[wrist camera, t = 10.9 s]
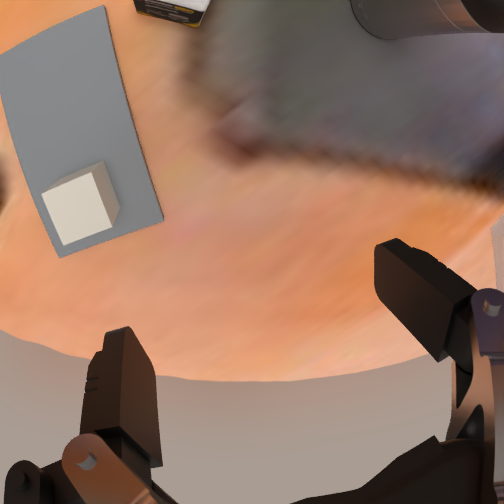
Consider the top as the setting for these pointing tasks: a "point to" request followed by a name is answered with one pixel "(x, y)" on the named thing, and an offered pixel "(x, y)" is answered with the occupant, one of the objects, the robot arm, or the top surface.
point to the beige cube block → (82, 203)
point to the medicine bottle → (174, 10)
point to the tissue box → (499, 251)
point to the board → (76, 121)
